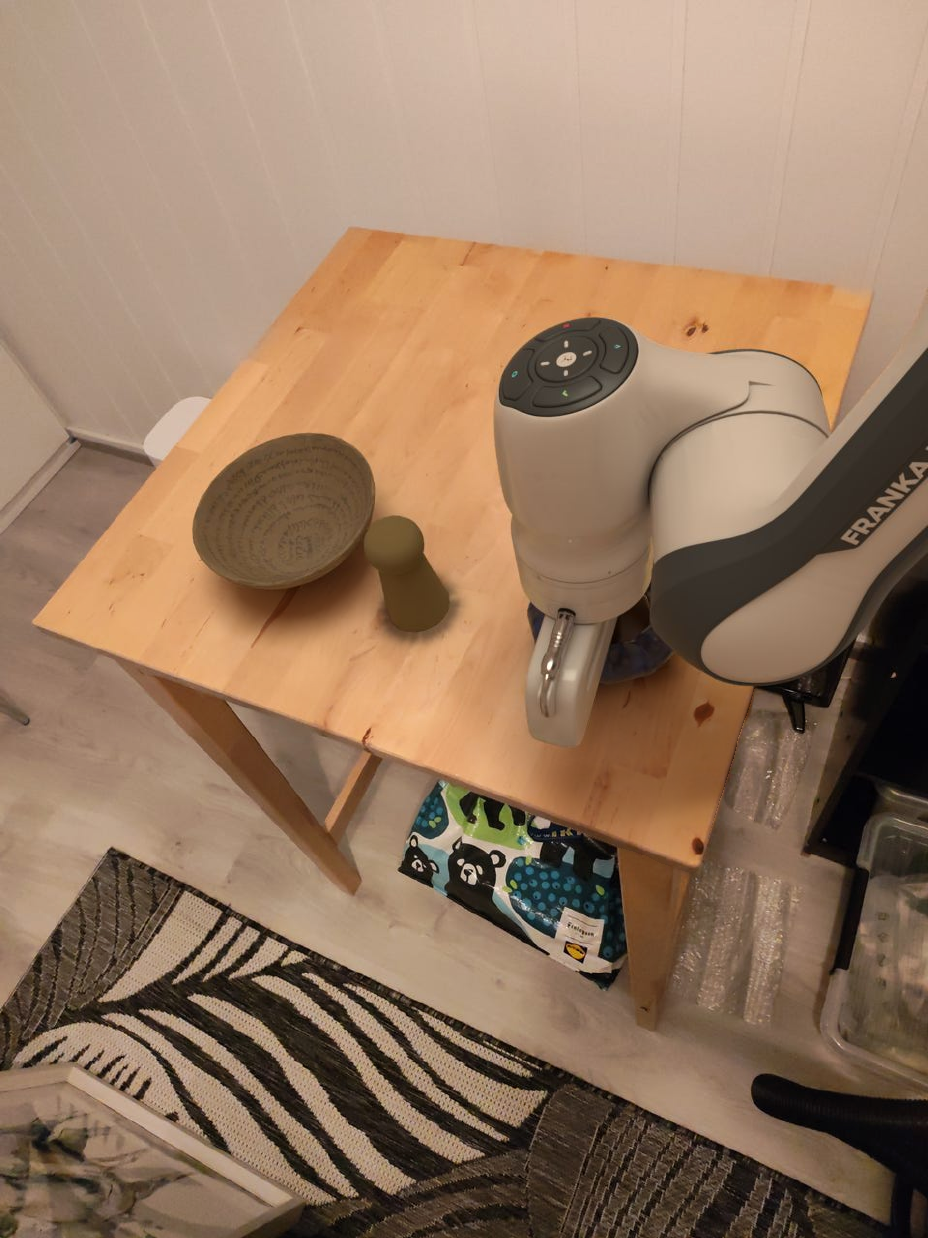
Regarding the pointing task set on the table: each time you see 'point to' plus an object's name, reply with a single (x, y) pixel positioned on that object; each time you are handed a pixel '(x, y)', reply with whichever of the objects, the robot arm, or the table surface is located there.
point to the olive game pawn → (405, 574)
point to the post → (632, 624)
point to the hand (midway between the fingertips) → (593, 659)
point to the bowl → (285, 511)
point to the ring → (622, 651)
